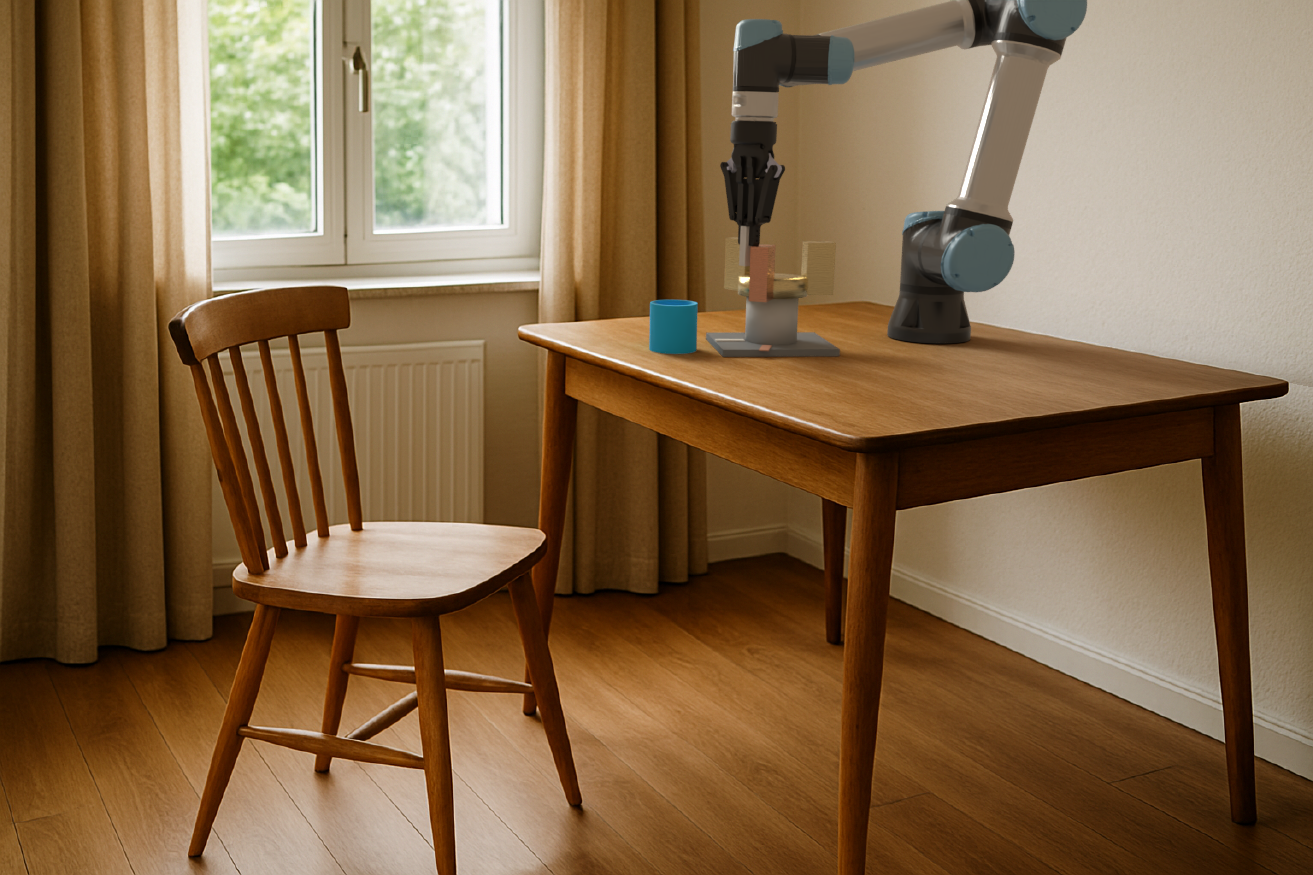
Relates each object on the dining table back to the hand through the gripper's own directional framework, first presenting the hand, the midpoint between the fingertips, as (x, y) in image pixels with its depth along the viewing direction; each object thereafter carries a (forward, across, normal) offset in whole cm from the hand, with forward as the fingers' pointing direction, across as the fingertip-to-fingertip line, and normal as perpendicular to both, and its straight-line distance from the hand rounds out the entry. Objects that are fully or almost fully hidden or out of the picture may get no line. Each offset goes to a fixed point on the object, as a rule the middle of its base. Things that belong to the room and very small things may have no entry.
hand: (747, 265), depth 209 cm
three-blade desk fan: (+6, -1, +7) cm, 9 cm away
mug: (+15, -12, -7) cm, 20 cm away
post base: (+15, -2, +8) cm, 17 cm away
